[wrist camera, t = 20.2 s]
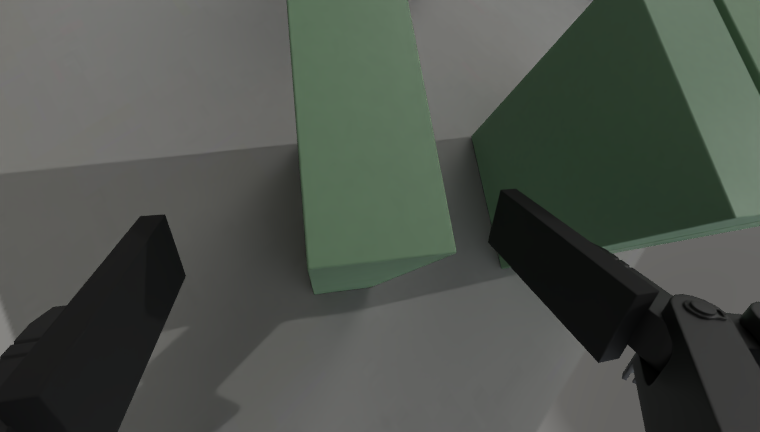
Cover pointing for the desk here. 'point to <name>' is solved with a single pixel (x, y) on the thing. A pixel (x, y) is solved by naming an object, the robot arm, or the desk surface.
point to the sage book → (364, 144)
